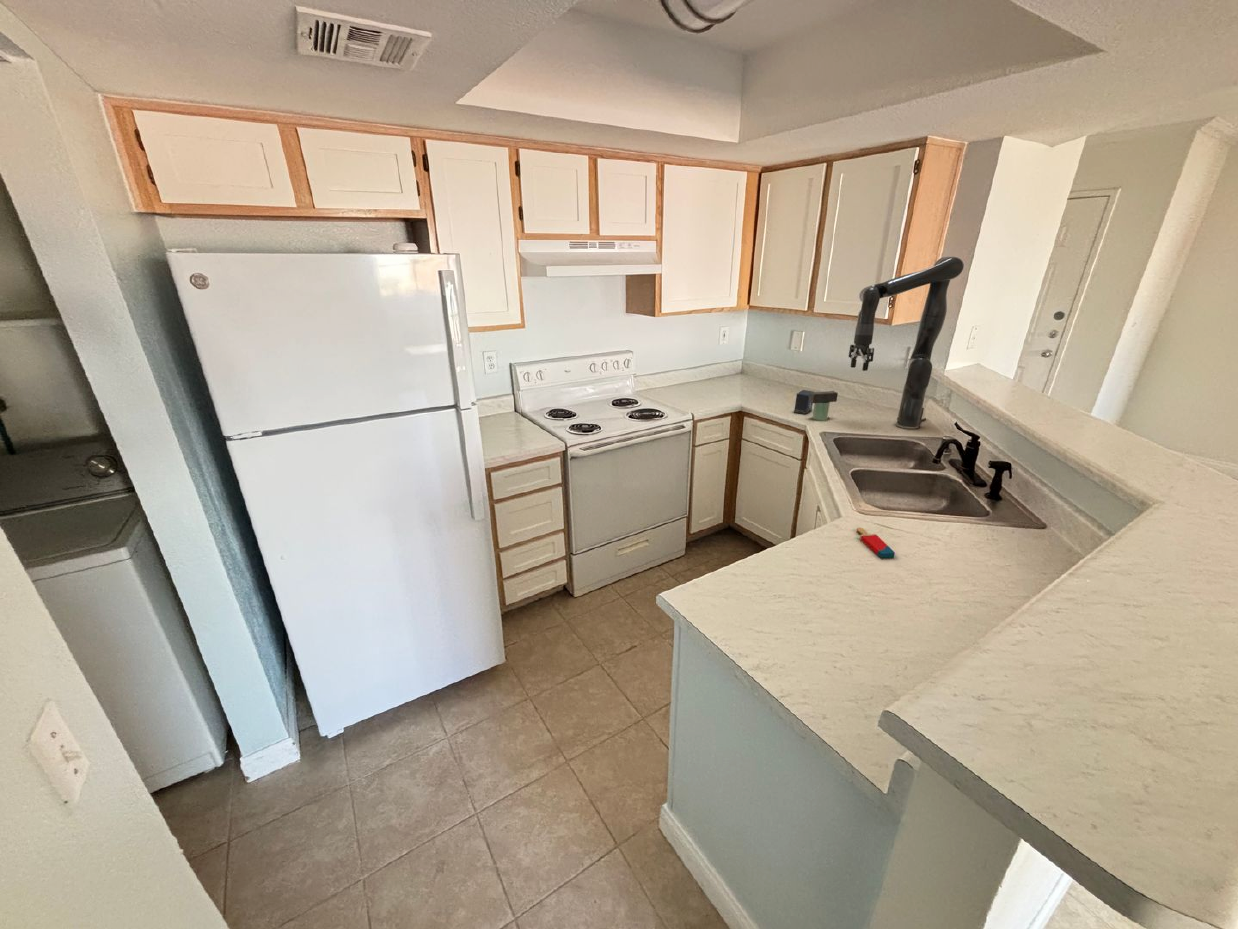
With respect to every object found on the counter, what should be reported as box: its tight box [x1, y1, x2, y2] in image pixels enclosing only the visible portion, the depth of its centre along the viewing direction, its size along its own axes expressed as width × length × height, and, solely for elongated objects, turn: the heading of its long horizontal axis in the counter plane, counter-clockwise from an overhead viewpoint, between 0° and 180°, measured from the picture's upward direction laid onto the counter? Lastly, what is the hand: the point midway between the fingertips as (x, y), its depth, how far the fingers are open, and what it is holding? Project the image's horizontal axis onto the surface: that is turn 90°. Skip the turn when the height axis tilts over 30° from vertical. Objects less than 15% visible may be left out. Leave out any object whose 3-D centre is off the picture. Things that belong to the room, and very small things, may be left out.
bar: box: [809, 390, 839, 404], centre depth 249 cm, size 13×4×4 cm, turn 102°
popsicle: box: [856, 527, 896, 559], centre depth 141 cm, size 5×2×15 cm
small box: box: [793, 389, 815, 415], centre depth 264 cm, size 11×6×10 cm, turn 143°
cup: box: [812, 402, 831, 422], centre depth 251 cm, size 7×7×9 cm
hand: (858, 368), depth 234 cm, fingers open, 8 cm apart
